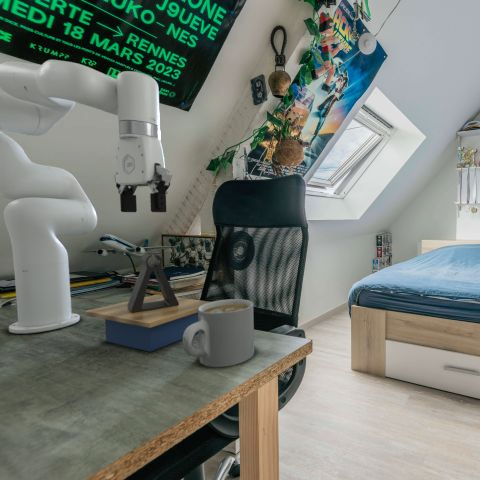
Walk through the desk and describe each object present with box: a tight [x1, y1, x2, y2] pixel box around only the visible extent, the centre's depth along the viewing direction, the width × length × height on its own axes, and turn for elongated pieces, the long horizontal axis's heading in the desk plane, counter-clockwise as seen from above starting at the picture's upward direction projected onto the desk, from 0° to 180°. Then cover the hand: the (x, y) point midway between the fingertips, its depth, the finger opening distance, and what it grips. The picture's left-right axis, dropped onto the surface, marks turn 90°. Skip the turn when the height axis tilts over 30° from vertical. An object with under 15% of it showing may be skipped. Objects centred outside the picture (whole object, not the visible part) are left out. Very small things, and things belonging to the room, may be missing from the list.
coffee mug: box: [182, 298, 255, 368], centre depth 62 cm, size 13×10×10 cm
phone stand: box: [127, 251, 179, 313], centre depth 72 cm, size 9×6×12 cm, turn 132°
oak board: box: [85, 294, 211, 328], centre depth 72 cm, size 20×16×1 cm
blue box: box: [104, 312, 199, 353], centre depth 73 cm, size 14×12×6 cm
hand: (143, 212), depth 71 cm, fingers open, 9 cm apart
